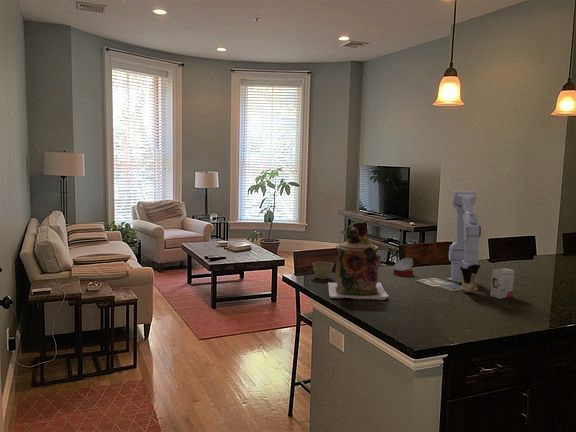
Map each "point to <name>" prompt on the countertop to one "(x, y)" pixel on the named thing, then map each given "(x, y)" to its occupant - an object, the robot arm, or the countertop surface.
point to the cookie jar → (357, 267)
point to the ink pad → (451, 287)
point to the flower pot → (322, 269)
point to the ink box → (502, 283)
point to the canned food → (403, 267)
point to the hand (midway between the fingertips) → (469, 282)
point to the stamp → (472, 285)
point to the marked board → (433, 282)
